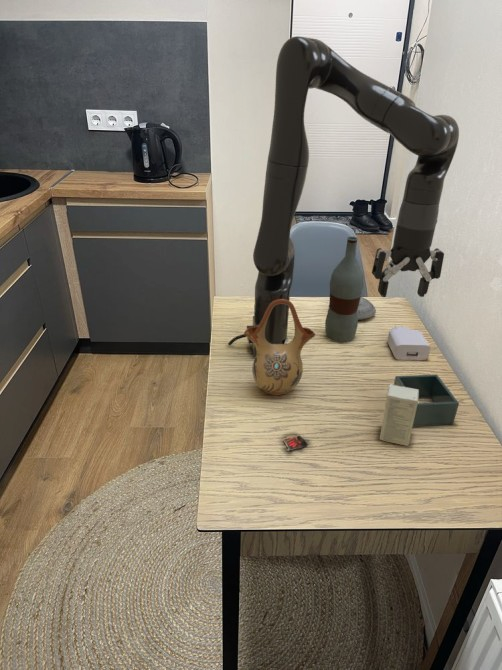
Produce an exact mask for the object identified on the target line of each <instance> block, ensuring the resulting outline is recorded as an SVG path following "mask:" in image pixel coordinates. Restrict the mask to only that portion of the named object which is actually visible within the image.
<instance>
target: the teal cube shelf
mask: <svg viewBox="0 0 502 670" xmlns="http://www.w3.org/2000/svg"><path fill="white" fill-rule="evenodd" d="M393 385H397V386H403V387H408V388H413V389H418V390H419V397H418V398H423V397H430V398H431V399H432V400H433V402H418V404H417V408H416V413H415V417H414V422H413V427H428V426H429V427H430V426H446V425H454V423H455V419H456V416H457V412H458V409H459V405H460V402H459V401H458V399H456V397H455V396H454V395H453V393H452V392H451V390H450V389H449V388H448V387H447V386H446V383H444V381H443V380H442V379H441V378H440V376H439V375H438V374H437V373H436V374H417V375H416V374H414V375H395V377H394V382H393Z"/></svg>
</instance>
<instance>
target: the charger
mask: <svg viewBox="0 0 502 670" xmlns="http://www.w3.org/2000/svg"><path fill="white" fill-rule="evenodd" d="M386 340H387V341H386V342H387V344H388V347H389V348H390V351H391V353H392V356H393V357H394V359H396V360H398V361H399V360H401V361H425V360H428V359H429V357H430V352H431V346H430V344H429V342H428V340H427V339H426V337H425V335H424V334H423V333H422V331H421V330H419V329H410V328H408V327H407V326H403V325H400V326H397V325H395V326H394V327H392V328H391V329H390V330H389V331H388V335H387V339H386Z"/></svg>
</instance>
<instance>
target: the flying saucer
mask: <svg viewBox="0 0 502 670" xmlns="http://www.w3.org/2000/svg"><path fill="white" fill-rule="evenodd" d="M376 313H377V310H376V307H375V305H374V304H373V303H372V302H371V301H370V300H368V299H367V298H365V297H362V296H361V297H360V302H359V306H358V310H357V314H358V321H359V320H367V319H369V318H372V317H374V316H375V315H376Z"/></svg>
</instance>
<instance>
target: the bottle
mask: <svg viewBox="0 0 502 670" xmlns="http://www.w3.org/2000/svg"><path fill="white" fill-rule="evenodd" d="M358 240H359V239H358V237H356V236H348V237H347V238H346V248H345V254H344V257H343V258H342V259H341V260H340V262H339V263H338V264H337V265H336V266H335V268H334V269H333V271H332V273H331V276H330V280H329V304H328V311H327V313H326V317H325V322H324V323H325V324H324V326H325V328H324V329H325V335H326V338H327V339H328V340H330V341H332V342H336V343H340V344H341V343H343V344H344V343H349V342H351V341H353V339H354V337H355V335H356V333H357V329H358V323H359V322H358V321H359V320H358V314H357V310H358V306H359V302H360V297H362V294H363V289H364V279H365V277H364V274H363V271H362V269H361V267H360V264H359V262H358V260H357V258H356V255H357V245H358V244H357V243H358Z"/></svg>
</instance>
